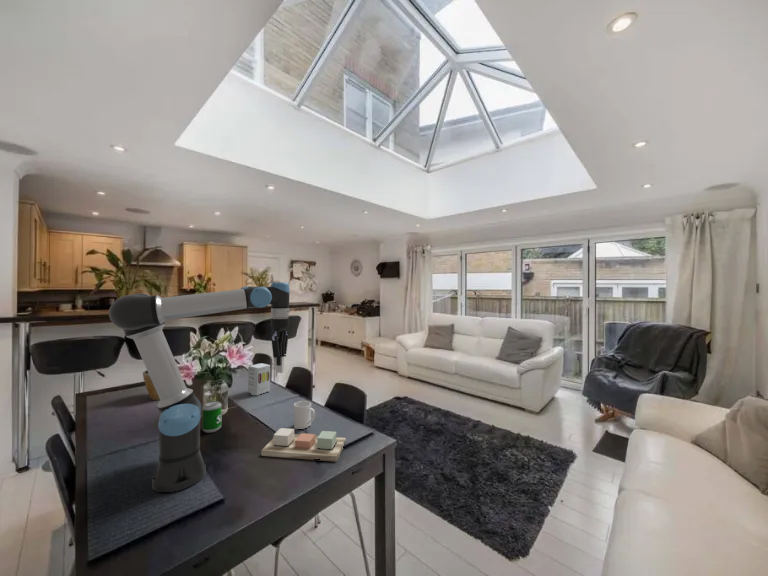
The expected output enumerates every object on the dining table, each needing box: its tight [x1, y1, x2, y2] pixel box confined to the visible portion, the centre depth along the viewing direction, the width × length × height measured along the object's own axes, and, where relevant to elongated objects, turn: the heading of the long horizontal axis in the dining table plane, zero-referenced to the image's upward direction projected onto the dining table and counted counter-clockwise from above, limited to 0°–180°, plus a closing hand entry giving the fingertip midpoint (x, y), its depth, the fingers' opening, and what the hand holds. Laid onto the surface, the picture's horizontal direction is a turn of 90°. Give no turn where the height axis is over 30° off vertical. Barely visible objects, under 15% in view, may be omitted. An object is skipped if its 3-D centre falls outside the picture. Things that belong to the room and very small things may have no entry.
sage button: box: [317, 430, 337, 450], centre depth 123 cm, size 6×6×4 cm
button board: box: [260, 433, 347, 462], centre depth 124 cm, size 14×30×2 cm, turn 83°
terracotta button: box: [295, 432, 316, 449], centre depth 124 cm, size 6×6×4 cm
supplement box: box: [247, 362, 271, 395], centre depth 188 cm, size 10×9×17 cm
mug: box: [293, 400, 316, 430], centre depth 143 cm, size 12×8×10 cm, turn 53°
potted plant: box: [142, 369, 160, 401], centre depth 180 cm, size 18×19×25 cm
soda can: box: [202, 400, 223, 434], centre depth 140 cm, size 8×8×12 cm
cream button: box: [273, 427, 295, 447], centre depth 125 cm, size 6×6×4 cm
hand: (279, 372), depth 133 cm, fingers closed
